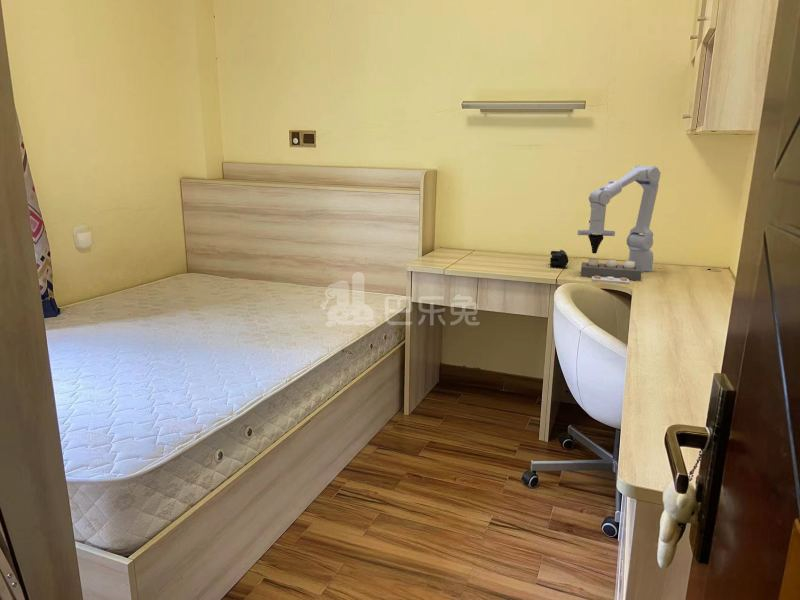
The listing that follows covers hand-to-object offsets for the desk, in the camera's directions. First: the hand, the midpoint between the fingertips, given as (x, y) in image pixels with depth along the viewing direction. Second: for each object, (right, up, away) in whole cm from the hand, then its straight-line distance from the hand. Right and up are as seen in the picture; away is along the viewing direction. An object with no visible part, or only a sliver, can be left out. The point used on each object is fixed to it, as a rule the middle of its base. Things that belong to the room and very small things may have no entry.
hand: (594, 253), depth 250 cm
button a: (+13, -8, -2) cm, 16 cm away
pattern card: (+4, -12, -9) cm, 15 cm away
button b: (+7, -7, 0) cm, 10 cm away
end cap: (-10, -5, +19) cm, 22 cm away
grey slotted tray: (+7, -9, 0) cm, 11 cm away
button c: (0, -6, +2) cm, 7 cm away
